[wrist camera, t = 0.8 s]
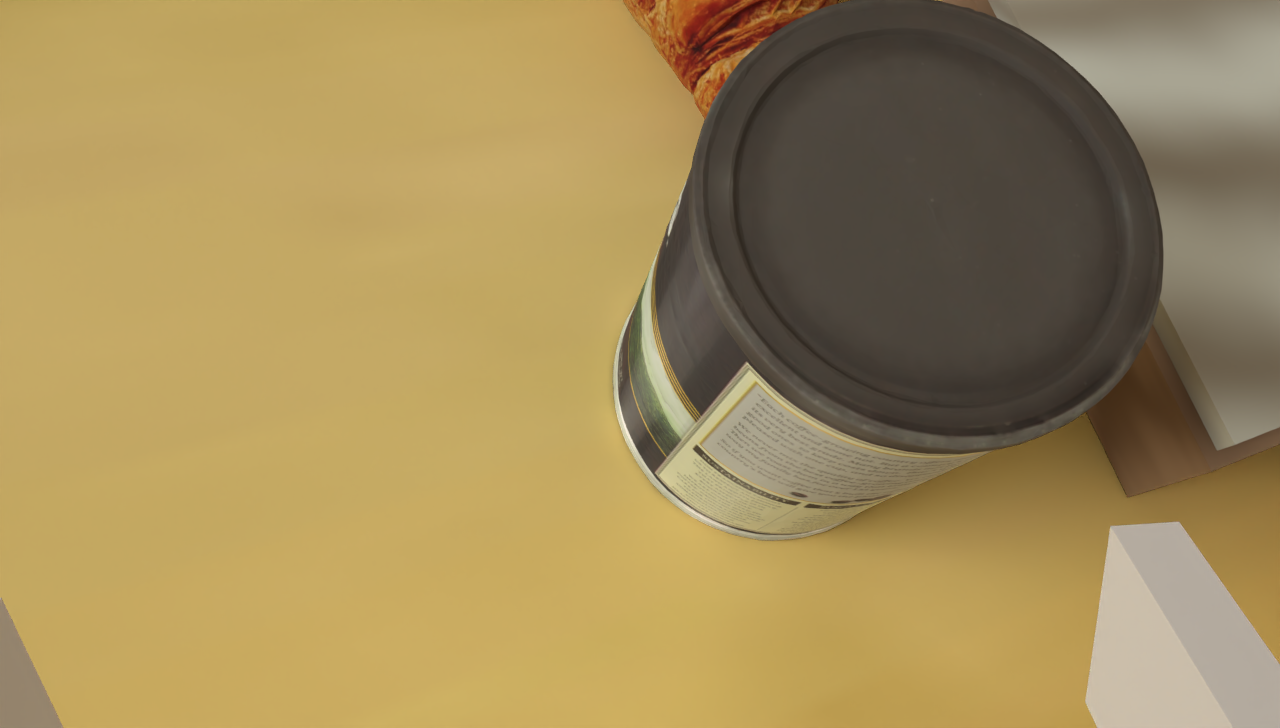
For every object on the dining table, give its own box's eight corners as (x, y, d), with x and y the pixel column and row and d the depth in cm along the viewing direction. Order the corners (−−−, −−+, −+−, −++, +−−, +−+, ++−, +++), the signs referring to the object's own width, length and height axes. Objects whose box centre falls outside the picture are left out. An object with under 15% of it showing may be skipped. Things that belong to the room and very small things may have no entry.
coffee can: (545, 360, 35) (590, 152, 22) (775, 191, 38) (939, -82, 25) (751, 613, 34) (934, 557, 20) (973, 416, 37) (1259, 255, 23)
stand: (910, 48, 41) (970, -42, 36) (1149, -16, 43) (1235, -107, 38) (1127, 497, 37) (1229, 465, 32) (1376, 397, 39) (1506, 354, 34)
